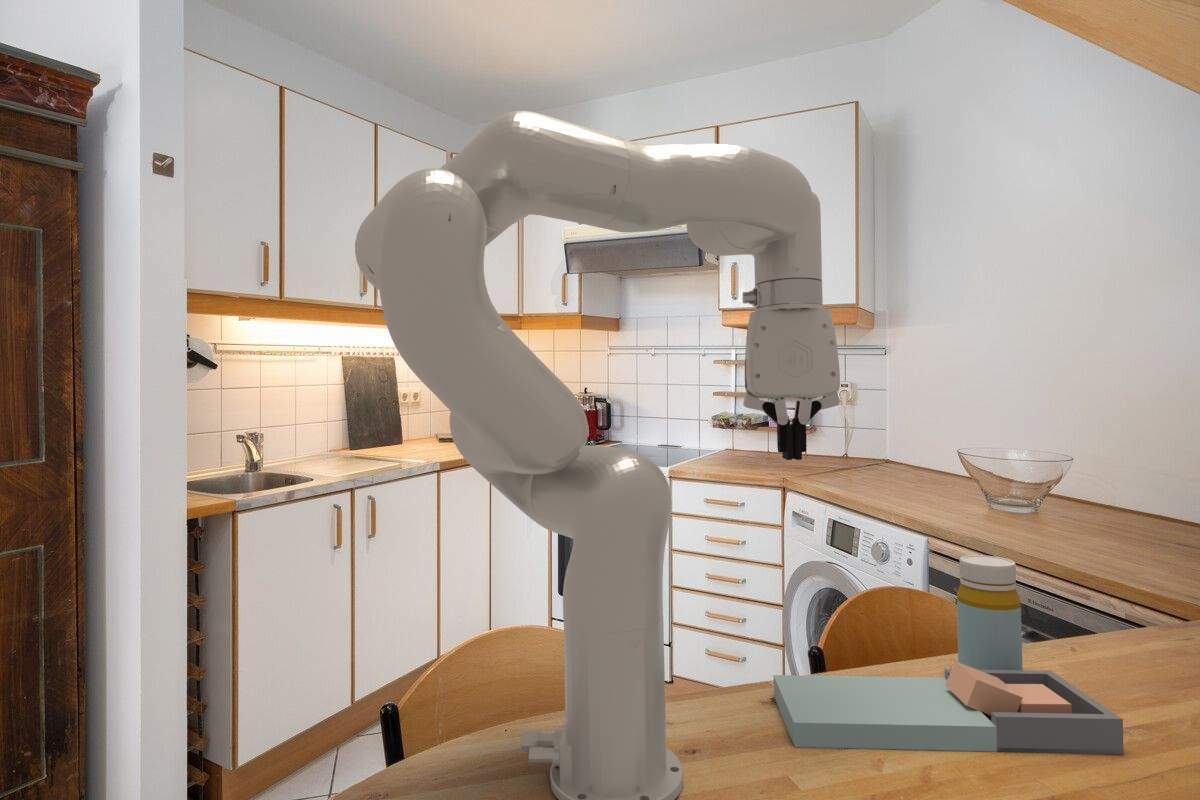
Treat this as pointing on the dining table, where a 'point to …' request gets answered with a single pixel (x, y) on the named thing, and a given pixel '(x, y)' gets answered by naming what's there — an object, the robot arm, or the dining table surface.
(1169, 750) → the dining table surface
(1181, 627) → the dining table surface
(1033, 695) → the tile
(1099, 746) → the tray
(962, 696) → the tile
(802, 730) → the pale green lid panel
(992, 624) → the bottle
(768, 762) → the dining table surface
